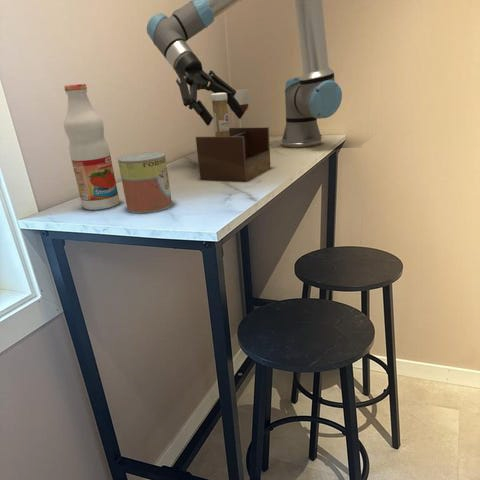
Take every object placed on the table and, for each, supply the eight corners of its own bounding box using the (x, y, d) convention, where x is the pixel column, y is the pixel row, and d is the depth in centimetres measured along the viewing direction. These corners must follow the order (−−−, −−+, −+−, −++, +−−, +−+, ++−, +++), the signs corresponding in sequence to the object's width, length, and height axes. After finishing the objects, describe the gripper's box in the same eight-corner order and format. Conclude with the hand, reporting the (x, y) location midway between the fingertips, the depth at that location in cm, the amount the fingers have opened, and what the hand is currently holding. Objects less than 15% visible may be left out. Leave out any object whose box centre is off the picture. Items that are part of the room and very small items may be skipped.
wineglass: (232, 143, 194) (228, 90, 184) (253, 142, 193) (250, 88, 183) (229, 146, 187) (225, 92, 178) (251, 145, 186) (247, 90, 176)
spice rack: (228, 167, 151) (225, 127, 146) (270, 168, 145) (268, 127, 139) (200, 179, 138) (195, 137, 132) (245, 181, 131) (242, 136, 125)
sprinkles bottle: (227, 143, 136) (223, 93, 129) (213, 144, 137) (208, 94, 131) (232, 141, 140) (228, 91, 133) (218, 141, 141) (214, 92, 135)
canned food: (163, 212, 109) (155, 160, 104) (119, 213, 112) (109, 162, 106) (178, 199, 119) (171, 151, 113) (137, 200, 121) (128, 153, 115)
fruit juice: (97, 199, 125) (72, 84, 112) (127, 200, 122) (104, 82, 108) (75, 209, 118) (44, 87, 104) (105, 211, 114) (78, 84, 101)
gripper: (209, 70, 146) (248, 122, 145) (147, 76, 131) (190, 134, 129) (219, 49, 141) (260, 103, 139) (156, 53, 125) (201, 114, 123)
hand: (226, 118), depth 134 cm, fingers open, 13 cm apart
